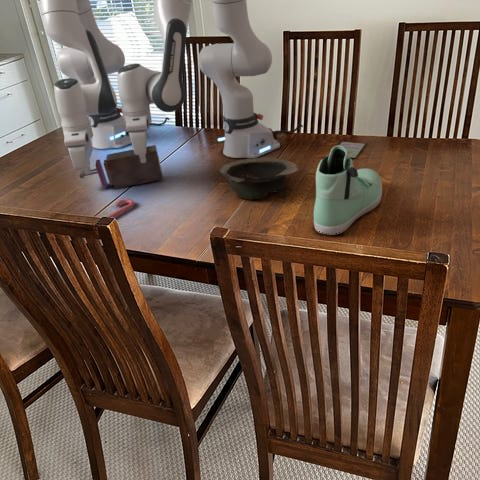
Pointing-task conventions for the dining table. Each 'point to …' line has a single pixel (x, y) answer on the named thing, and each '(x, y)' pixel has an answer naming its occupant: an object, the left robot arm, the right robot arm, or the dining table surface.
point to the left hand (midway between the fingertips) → (88, 173)
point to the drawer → (99, 173)
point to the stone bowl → (257, 176)
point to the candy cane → (118, 212)
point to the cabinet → (134, 168)
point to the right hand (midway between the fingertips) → (143, 158)
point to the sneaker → (343, 192)
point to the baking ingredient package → (352, 148)
